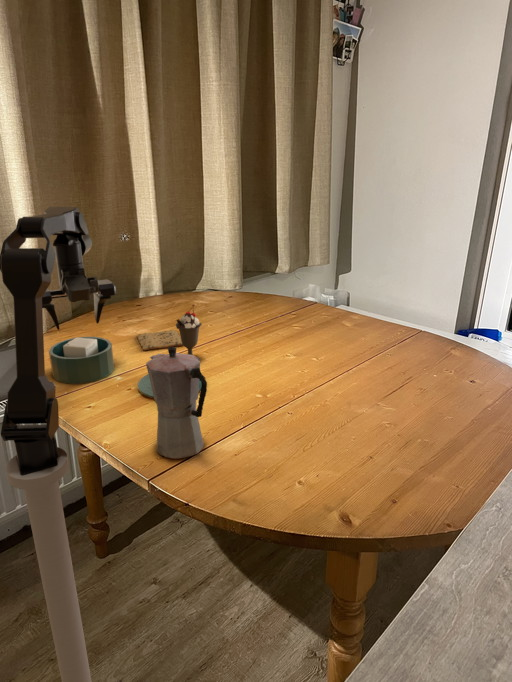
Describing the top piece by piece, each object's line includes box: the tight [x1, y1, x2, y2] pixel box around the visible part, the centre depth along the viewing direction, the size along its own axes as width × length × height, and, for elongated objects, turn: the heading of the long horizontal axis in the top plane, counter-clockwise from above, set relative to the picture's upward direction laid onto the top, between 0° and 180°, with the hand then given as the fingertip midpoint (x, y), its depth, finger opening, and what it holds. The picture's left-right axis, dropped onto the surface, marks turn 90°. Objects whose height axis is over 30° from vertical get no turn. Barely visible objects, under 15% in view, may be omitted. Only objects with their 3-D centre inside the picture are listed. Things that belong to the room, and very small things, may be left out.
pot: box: [48, 336, 115, 385], centre depth 124 cm, size 15×15×6 cm
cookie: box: [136, 329, 183, 351], centre depth 145 cm, size 12×12×1 cm
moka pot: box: [145, 346, 208, 459], centre depth 91 cm, size 10×15×20 cm, turn 51°
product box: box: [63, 337, 98, 358], centre depth 124 cm, size 6×6×7 cm
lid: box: [137, 373, 202, 399], centre depth 117 cm, size 16×16×6 cm
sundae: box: [175, 304, 202, 362], centre depth 130 cm, size 7×7×15 cm
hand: (78, 326), depth 121 cm, fingers open, 9 cm apart
